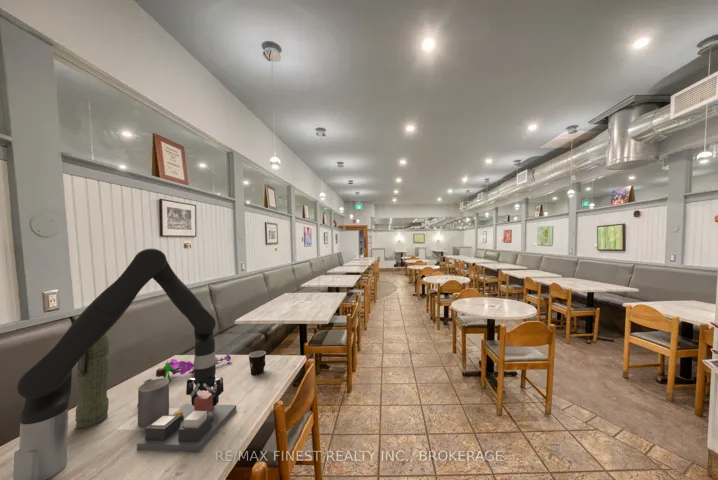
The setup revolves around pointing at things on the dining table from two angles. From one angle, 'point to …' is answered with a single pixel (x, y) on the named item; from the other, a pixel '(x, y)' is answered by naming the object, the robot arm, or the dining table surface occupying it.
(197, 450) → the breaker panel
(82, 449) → the dining table surface
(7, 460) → the dining table surface
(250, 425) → the dining table surface
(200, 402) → the cap
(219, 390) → the robot arm
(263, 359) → the coffee mug
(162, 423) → the button
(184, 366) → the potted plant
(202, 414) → the block
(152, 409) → the pillar candle
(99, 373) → the thermos
